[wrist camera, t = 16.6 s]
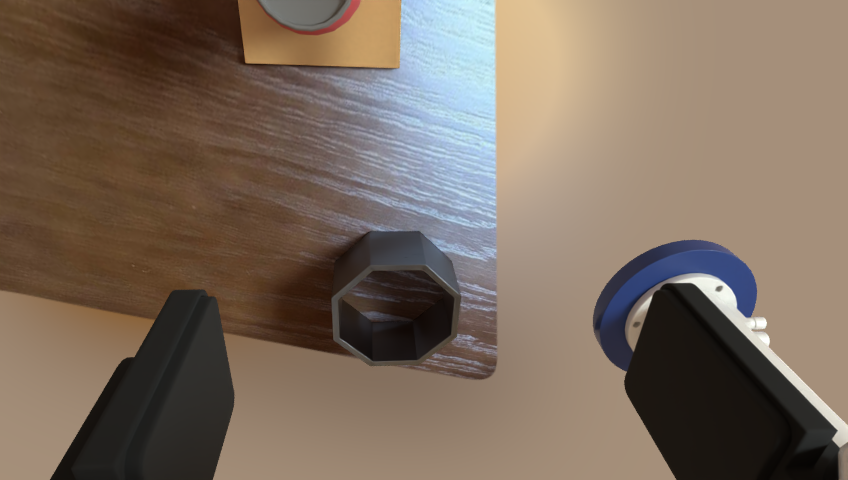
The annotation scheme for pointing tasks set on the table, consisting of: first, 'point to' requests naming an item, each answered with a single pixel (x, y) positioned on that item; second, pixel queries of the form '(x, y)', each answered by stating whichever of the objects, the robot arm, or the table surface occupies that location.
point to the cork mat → (326, 38)
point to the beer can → (310, 14)
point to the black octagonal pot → (394, 338)
